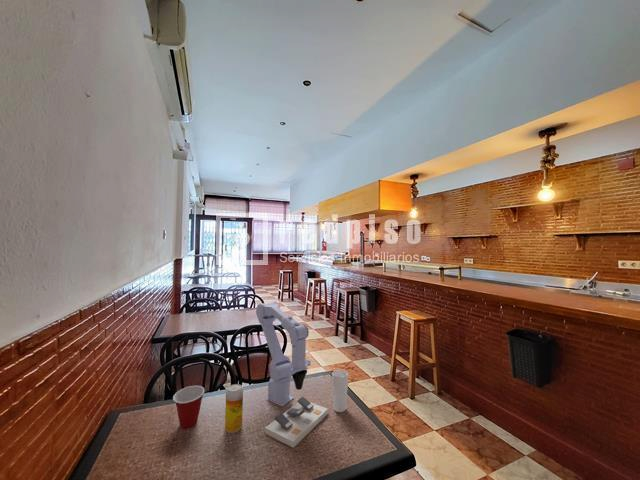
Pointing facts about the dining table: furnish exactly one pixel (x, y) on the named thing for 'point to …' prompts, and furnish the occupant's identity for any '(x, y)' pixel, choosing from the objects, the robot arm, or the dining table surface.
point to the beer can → (234, 408)
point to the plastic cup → (188, 405)
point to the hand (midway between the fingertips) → (298, 388)
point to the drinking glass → (339, 390)
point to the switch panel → (297, 425)
